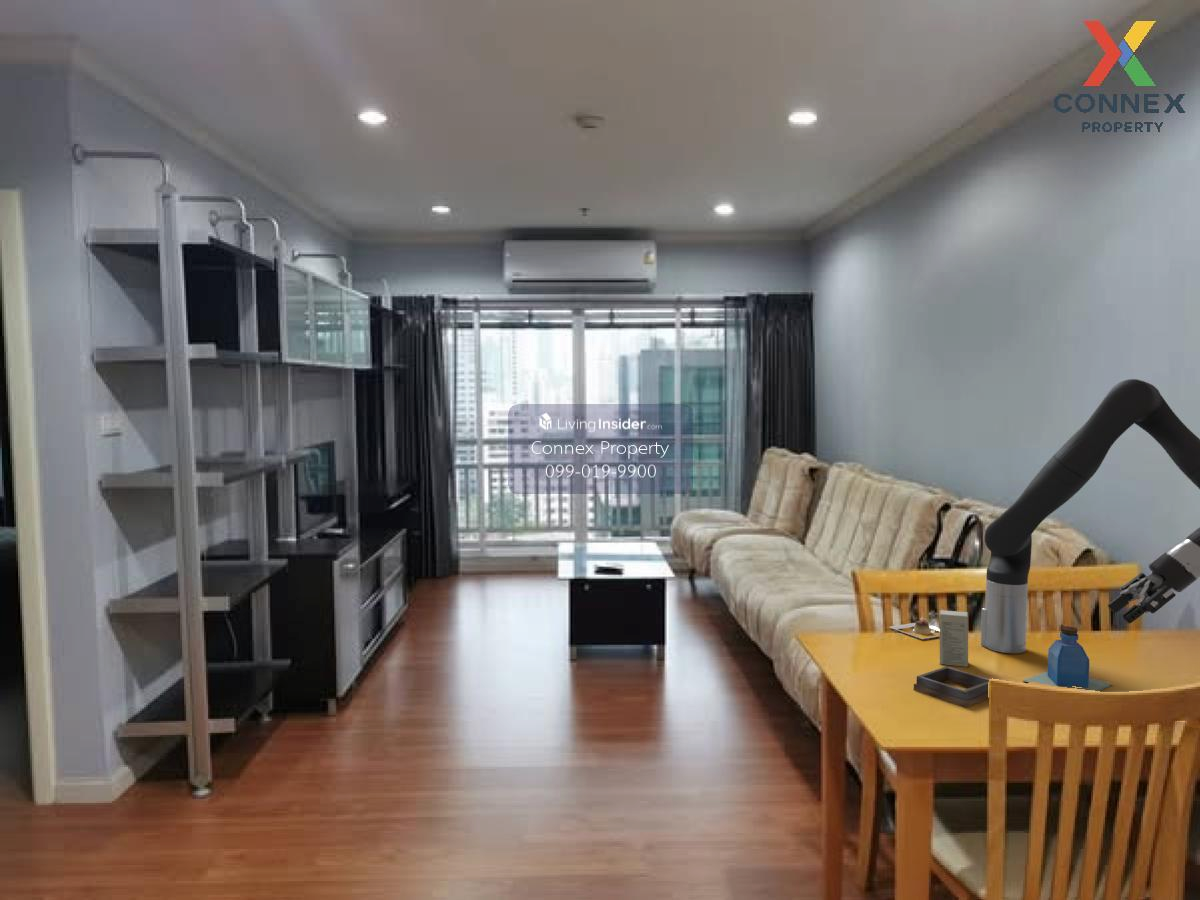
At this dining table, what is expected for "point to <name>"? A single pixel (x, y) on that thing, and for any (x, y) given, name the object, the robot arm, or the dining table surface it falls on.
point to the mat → (1044, 679)
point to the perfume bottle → (1068, 660)
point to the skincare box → (954, 638)
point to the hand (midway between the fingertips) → (1117, 614)
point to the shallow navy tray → (935, 687)
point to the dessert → (918, 628)
